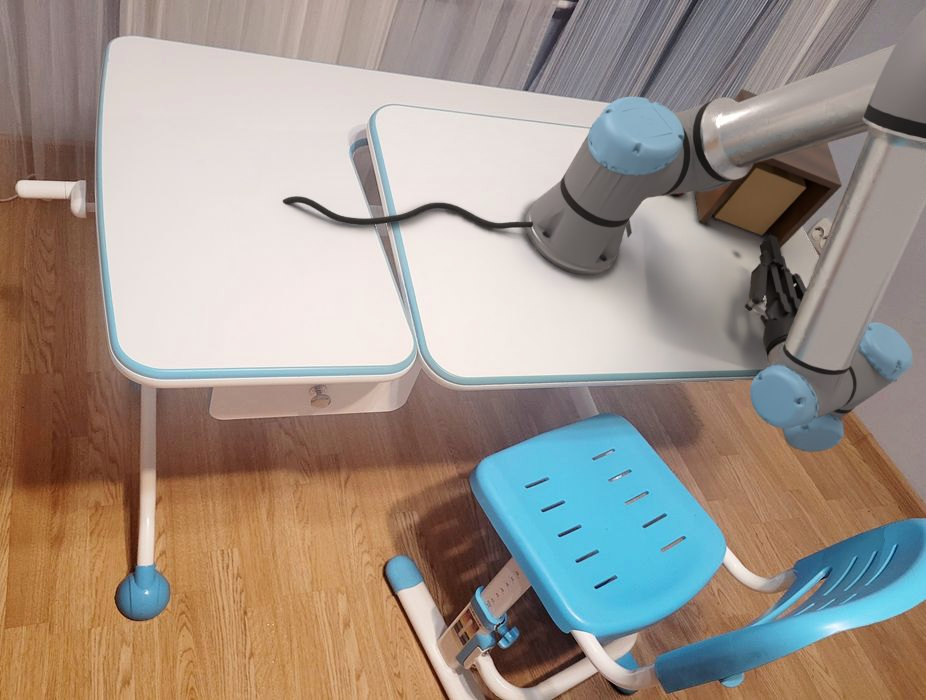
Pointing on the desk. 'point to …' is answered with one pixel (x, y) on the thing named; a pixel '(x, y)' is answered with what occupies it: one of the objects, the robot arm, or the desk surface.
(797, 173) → the cabinet
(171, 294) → the desk surface
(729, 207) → the box
